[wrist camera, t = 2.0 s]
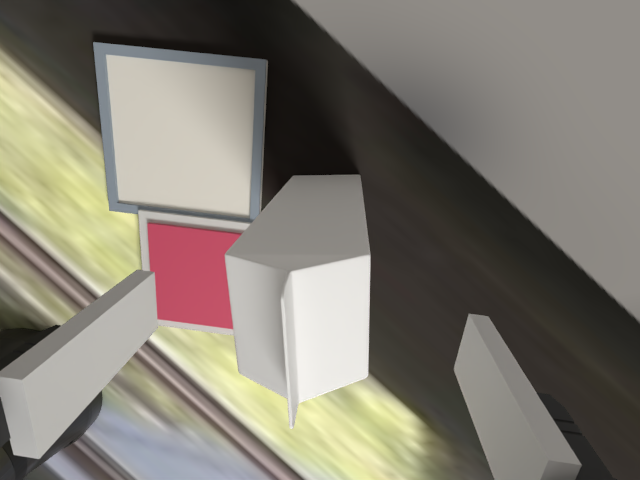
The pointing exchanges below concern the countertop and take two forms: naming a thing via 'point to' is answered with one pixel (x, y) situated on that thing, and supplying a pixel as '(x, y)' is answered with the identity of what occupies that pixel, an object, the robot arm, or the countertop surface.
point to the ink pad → (189, 268)
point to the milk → (303, 289)
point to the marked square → (182, 131)
